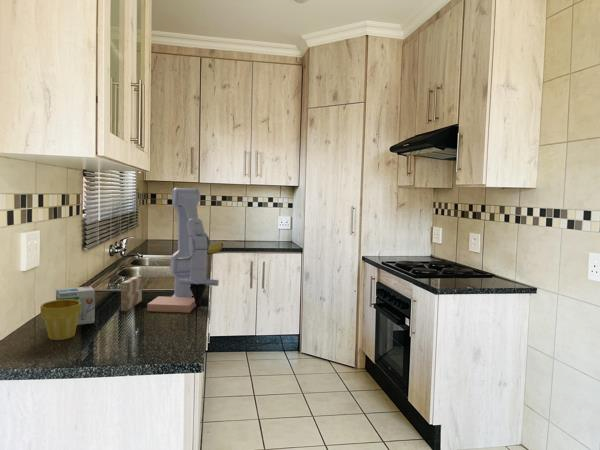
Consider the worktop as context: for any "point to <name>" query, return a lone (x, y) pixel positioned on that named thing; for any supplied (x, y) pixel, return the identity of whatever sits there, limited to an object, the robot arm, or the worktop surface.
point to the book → (171, 304)
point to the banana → (214, 248)
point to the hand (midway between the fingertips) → (197, 304)
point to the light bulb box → (84, 296)
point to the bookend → (131, 292)
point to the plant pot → (61, 318)
